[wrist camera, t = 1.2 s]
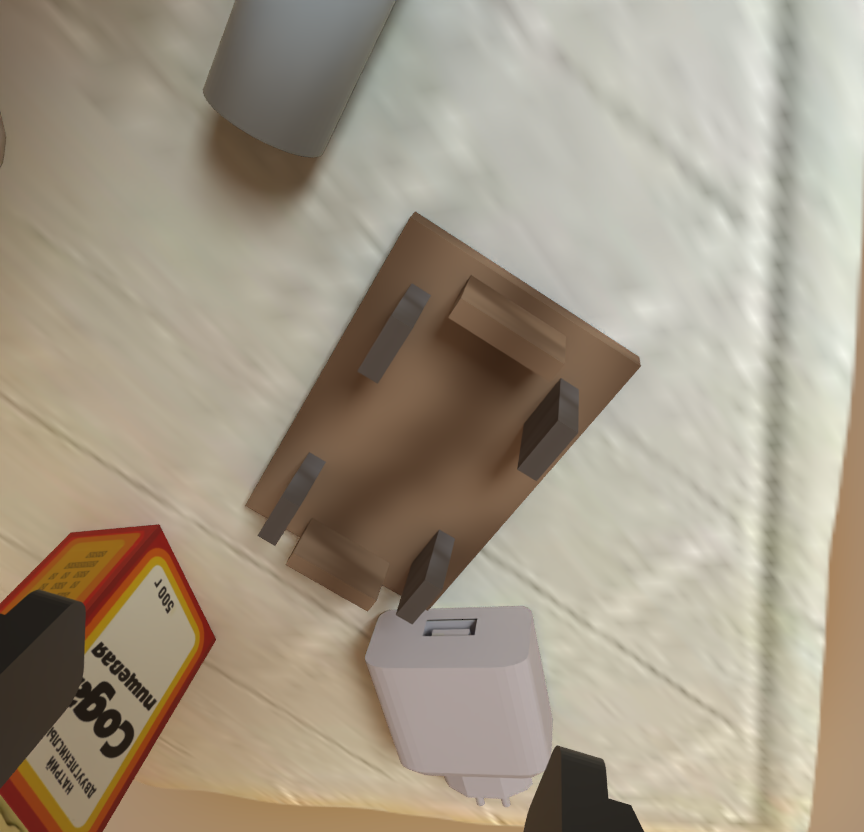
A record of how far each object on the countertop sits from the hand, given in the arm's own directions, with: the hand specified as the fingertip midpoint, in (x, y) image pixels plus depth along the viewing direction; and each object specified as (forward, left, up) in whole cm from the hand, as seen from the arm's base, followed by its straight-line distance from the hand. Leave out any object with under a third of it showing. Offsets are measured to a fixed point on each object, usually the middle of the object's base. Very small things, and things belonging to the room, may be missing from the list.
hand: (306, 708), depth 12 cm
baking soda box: (-7, -30, -24) cm, 39 cm away
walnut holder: (+2, -9, -24) cm, 25 cm away
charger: (+15, -23, -24) cm, 37 cm away
